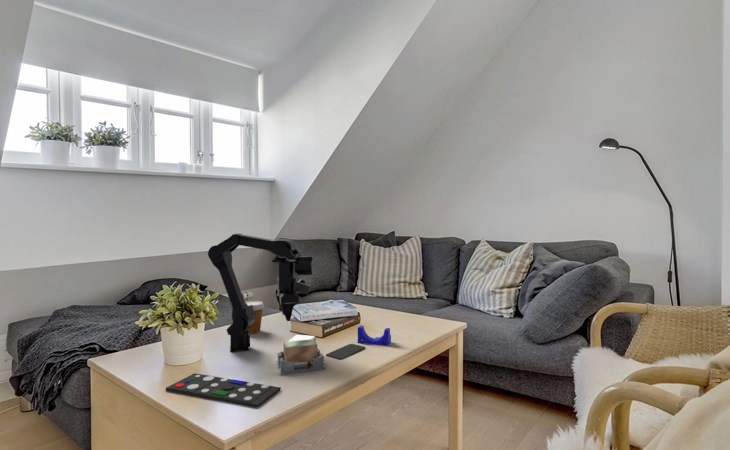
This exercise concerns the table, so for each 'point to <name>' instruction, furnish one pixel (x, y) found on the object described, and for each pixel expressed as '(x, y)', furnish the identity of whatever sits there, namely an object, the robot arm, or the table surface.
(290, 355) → the brown and green block
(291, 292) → the robot arm
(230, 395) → the remote control
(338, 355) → the phone
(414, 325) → the table surface
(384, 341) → the blue u-shaped cradle
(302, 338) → the external hard drive
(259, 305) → the disposable coffee cup
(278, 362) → the chassis
